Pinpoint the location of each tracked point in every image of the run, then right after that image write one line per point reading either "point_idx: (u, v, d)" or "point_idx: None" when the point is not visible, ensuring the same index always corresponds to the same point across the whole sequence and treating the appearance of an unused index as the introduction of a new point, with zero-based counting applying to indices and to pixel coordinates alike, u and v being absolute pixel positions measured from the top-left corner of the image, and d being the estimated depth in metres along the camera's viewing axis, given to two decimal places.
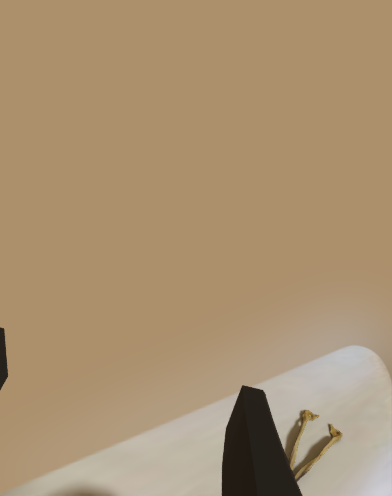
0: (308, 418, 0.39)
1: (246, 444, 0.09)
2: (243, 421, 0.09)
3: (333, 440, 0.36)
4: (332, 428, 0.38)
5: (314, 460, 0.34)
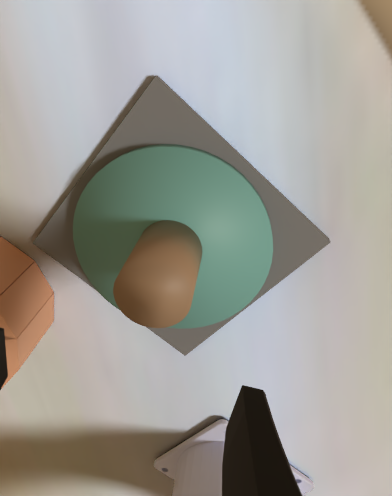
0: None
1: (246, 444, 0.09)
2: (243, 421, 0.09)
3: None
4: None
5: None
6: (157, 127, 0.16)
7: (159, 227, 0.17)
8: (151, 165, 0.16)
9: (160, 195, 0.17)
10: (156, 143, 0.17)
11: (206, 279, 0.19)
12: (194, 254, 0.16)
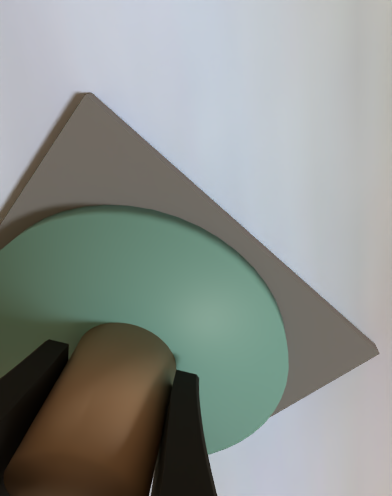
0: None
1: (168, 425, 0.09)
2: (169, 403, 0.09)
3: None
4: None
5: None
6: (96, 178, 0.10)
7: (102, 341, 0.10)
8: (85, 242, 0.10)
9: (105, 287, 0.10)
10: (97, 203, 0.10)
11: None
12: (158, 392, 0.10)
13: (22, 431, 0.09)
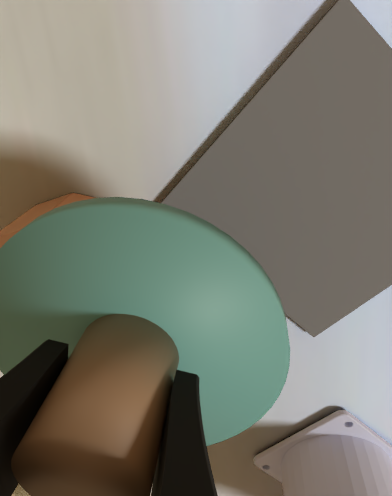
0: None
1: (168, 425, 0.09)
2: (169, 403, 0.09)
3: None
4: None
5: None
6: (334, 60, 0.14)
7: (108, 331, 0.10)
8: (96, 234, 0.10)
9: (113, 278, 0.10)
10: (329, 80, 0.14)
11: None
12: (162, 383, 0.10)
13: (21, 431, 0.09)
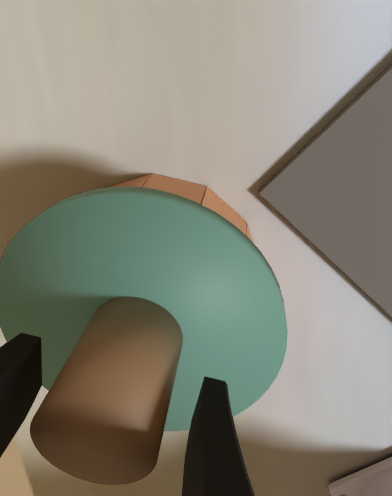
0: None
1: None
2: (201, 411, 0.09)
3: None
4: None
5: None
6: None
7: (118, 311, 0.11)
8: (110, 220, 0.10)
9: (123, 262, 0.11)
10: None
11: (186, 376, 0.13)
12: (169, 360, 0.11)
13: None
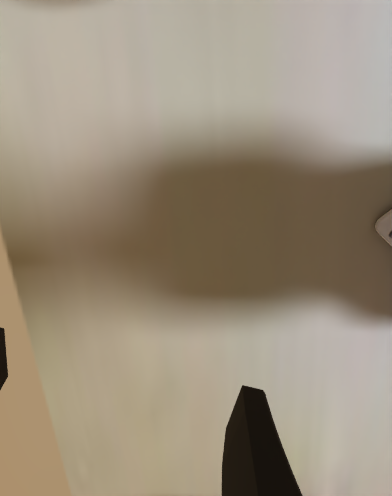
0: None
1: (246, 444, 0.09)
2: (243, 421, 0.09)
3: None
4: None
5: None
6: None
7: None
8: None
9: None
10: None
11: None
12: None
13: None
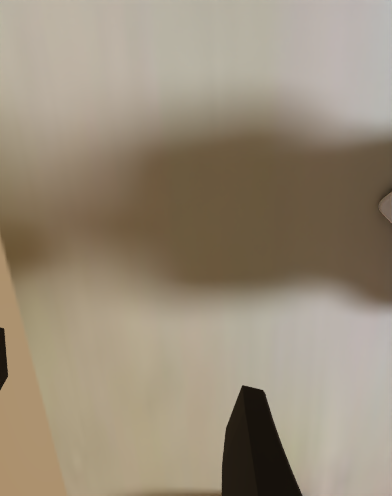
0: None
1: (246, 444, 0.09)
2: (243, 421, 0.09)
3: None
4: None
5: None
6: None
7: None
8: None
9: None
10: None
11: None
12: None
13: None
